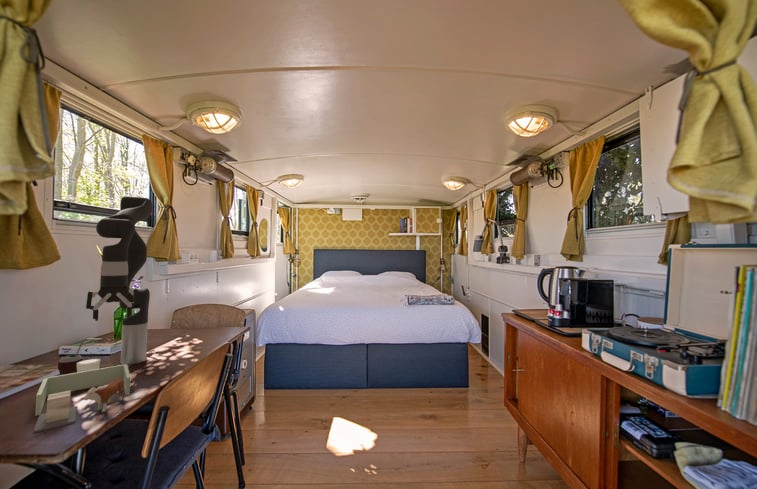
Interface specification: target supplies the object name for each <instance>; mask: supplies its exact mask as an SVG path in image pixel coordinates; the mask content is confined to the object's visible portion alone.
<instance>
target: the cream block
mask: <svg viewBox="0 0 757 489" xmlns="http://www.w3.org/2000/svg"><path fill="white" fill-rule="evenodd" d="M71 393H72V391H71V390H70V391H65V392H60V393H55V394H50V395H49V396H47V398H46V412H45V413H46V423H49V422H53V421H57V420H61V419H65V418H69V413H70V408H71Z"/></svg>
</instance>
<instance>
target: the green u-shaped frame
mask: <svg viewBox="0 0 757 489" xmlns="http://www.w3.org/2000/svg"><path fill="white" fill-rule="evenodd" d="M130 374H131V373H130V370H129V367H128V364H119V365H114V366H107V367H102V368H100V367H99V369H95V370H89V371H83V372H77V373H71V374H65V375H60V374H59V375H56V376H49V377H44V378H43V380H42V382H41V384H40V386H39V389H38V390H37V393H36V395H35V413H34V416H35V417H36V416H39V415H40V414H42V412H43V411H42V410H43V407H44V406H45V402H46V401H47V398H48V396H49V395H50V394H55V393H60V392H65V391H70V390H71V392H76V391H80V390H85V389H91V388H97V387H99V386H104V385H107V384H108V383H110V382H112V381H114V380H116V379H117V378H120V379H121V380H123V382H124V383H123V389H124V393H125V396H126V397H127V396H130V392H131V375H130Z"/></svg>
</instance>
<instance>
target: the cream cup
mask: <svg viewBox="0 0 757 489" xmlns="http://www.w3.org/2000/svg"><path fill="white" fill-rule="evenodd" d="M100 365H101V359H100V358H90V359H84V360H83V361H80V362H78V363H77V372H83V371H89V370H95V369H100Z"/></svg>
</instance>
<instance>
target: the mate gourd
mask: <svg viewBox="0 0 757 489" xmlns="http://www.w3.org/2000/svg"><path fill="white" fill-rule="evenodd" d="M89 337H90V335H87V336H86V337H85V338H84V339H82V341H80V343H79V346H78V348H77V351H76V353H75V354H67V355H65V356H62V357H61V358H60V359H59V361H58V364H57V371H58V372H59V375H65V374H71V373H77V363H78V362H80V361H83V357H82V356H81V354H79V353H80V350H81V348H82V346H83V344H84V342H85V340H87V339H88V338H89Z"/></svg>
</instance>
